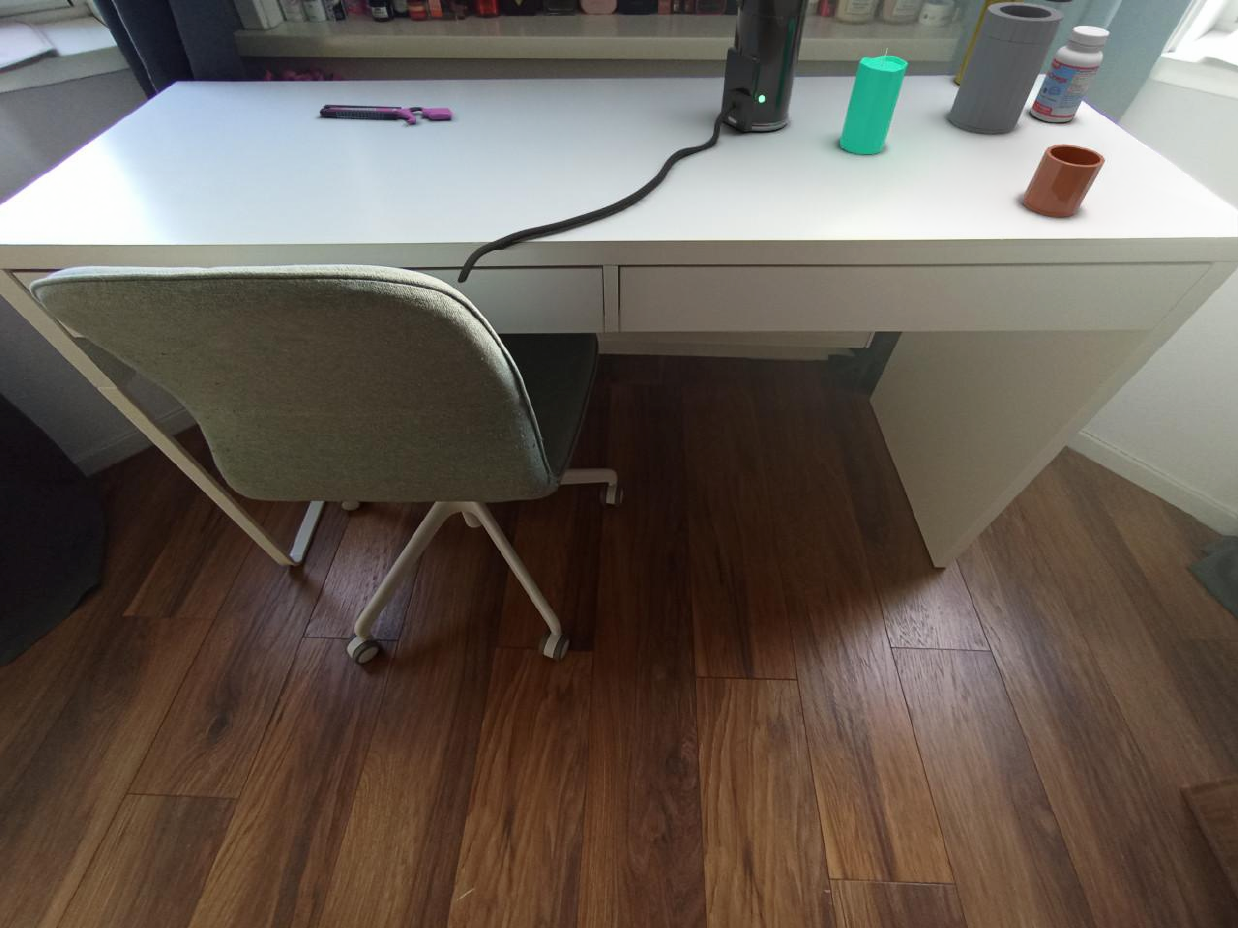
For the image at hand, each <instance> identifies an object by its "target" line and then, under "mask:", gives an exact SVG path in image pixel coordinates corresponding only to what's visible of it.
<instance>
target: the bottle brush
mask: <svg viewBox="0 0 1238 928" xmlns="http://www.w3.org/2000/svg"><path fill="white" fill-rule="evenodd" d="M1073 1H1074V0H1045V2H1052V3H1071V2H1073Z"/></svg>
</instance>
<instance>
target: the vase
mask: <svg viewBox="0 0 1238 928" xmlns="http://www.w3.org/2000/svg"><path fill="white" fill-rule="evenodd" d="M1005 2H1019V3H1020V2H1021V3H1024V0H985V1H984V3H983V6H982V8H981V11H980V14H979V16H978V18H977V21H976V24H975V27H974V28H973V29H974V30H973V32H972V35H971V37H970V40H969V43H968V45H967V48H966V51H965V53H964V56H963V58H962V62H961V64H960V67H959V70H958V71H957V74H956V76H955V77H954V82H955V83H956V84H957V85H959V86H960V84H961V81H962V78H963V75H964V72H965V70H966V67H967V64H968V61H969V59H970V56H971V53H972V50H973V48H974V45H975V42H976V39H977V36H978V34H979V31H980V28H981V25H982V23H983V20H984V17H985V14H986V11H987V9H988V7H989V6H990V5H992V4H997V3H1005Z"/></svg>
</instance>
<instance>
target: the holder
mask: <svg viewBox="0 0 1238 928" xmlns="http://www.w3.org/2000/svg"><path fill="white" fill-rule="evenodd" d="M1105 162H1106V159H1105V157H1104V156H1103V155H1102V154H1101V153H1099V152H1098V151H1095V150H1093V149H1090V148H1088V147H1084V146H1079V145H1076V144H1066V143H1065V144H1063V143H1062V144H1053V145H1051V146H1048V147H1047V148H1046V149H1045V151H1044V153H1043V155H1042V157H1041V159H1040V162H1039V163H1038V165H1037V167H1036V169H1035V171H1034V173H1033V176H1032V177H1031V179H1030V182H1029V183H1028V186H1027V187H1026V190H1025V191H1024V194H1023V197H1022V199H1021V200H1022V202H1021V203H1022V204H1023V206H1025V207H1026V208H1027V209H1029V210H1030V211H1032V212H1035V213H1037V214H1039V215H1043V216H1047V217H1051V218H1068V217H1072V216H1074V215H1075V214H1077V213H1078V210H1079V209H1080V207H1081V205H1082V203H1083V202H1084V200H1085V198H1086V196H1087V194H1088V192H1090V189H1091V187H1092V186H1093V184H1094V182H1095V180H1096V179H1097V176H1098V175H1099V173H1100V171H1101V169H1102V168H1103V166H1104V164H1105Z"/></svg>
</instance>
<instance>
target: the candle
mask: <svg viewBox="0 0 1238 928" xmlns="http://www.w3.org/2000/svg"><path fill="white" fill-rule="evenodd" d="M885 49H886V50H885V53H884V55H880V56H876V57H867V56H863V57H862V58H861V59H860V61H859V62H858V66H857V70H856V75H855V78H854V83H853V86H852V91H851V95H850V99H849V103H848V106H847V109H846V110H847V111H846V115H845V119H844V123H843V126H842V131H841V135H840V139H839V145H840V148H841V149H844V150H845V151H847V152H849V153H853V154H858V155H874V154H878V153H880V152H881V151H882V150H883V149H884V145H885V142H886V140H887V136H888V132H889V128H890V125H891V122H892V120H893V116H894V112H895V108H896V105H897V102H898V98H899V95H900V92H901V88H902V85H903V81H904V80H905V79H904V78H905V75H906V72H907V69H908V65H909V62H907V61H906V60H905V59H902V58H900V57H898V56H896V55H895V56H893V55H887V53H888V49H889V48H888V47H887V48H885Z"/></svg>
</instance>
